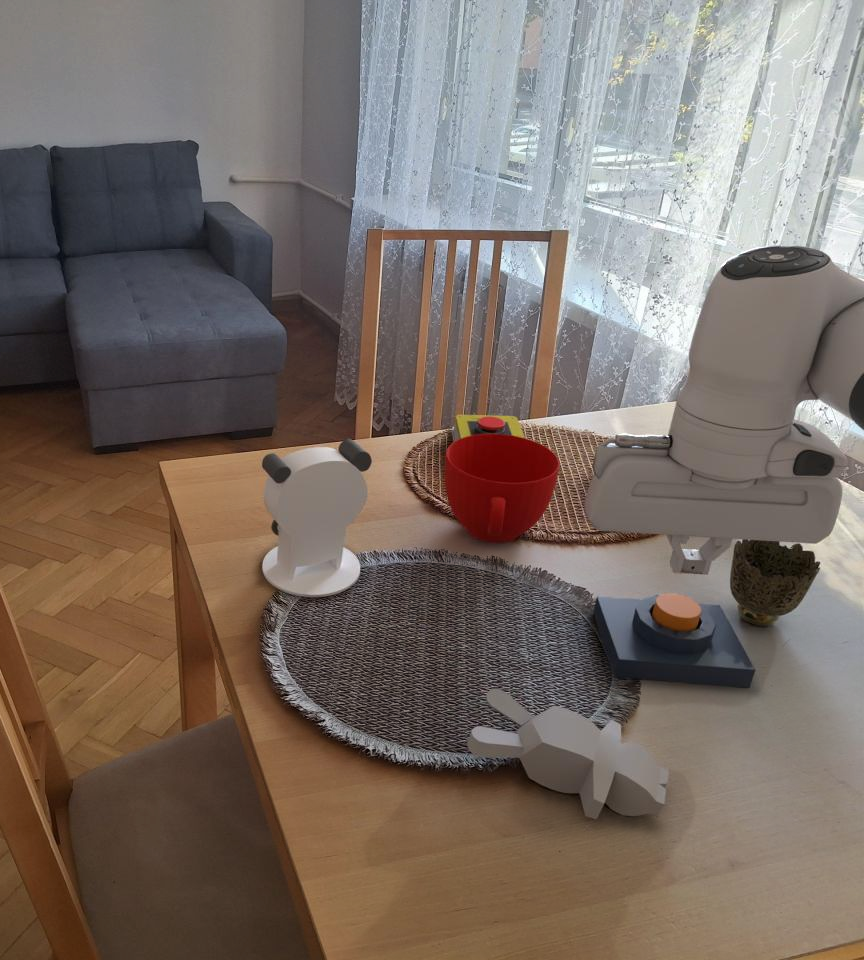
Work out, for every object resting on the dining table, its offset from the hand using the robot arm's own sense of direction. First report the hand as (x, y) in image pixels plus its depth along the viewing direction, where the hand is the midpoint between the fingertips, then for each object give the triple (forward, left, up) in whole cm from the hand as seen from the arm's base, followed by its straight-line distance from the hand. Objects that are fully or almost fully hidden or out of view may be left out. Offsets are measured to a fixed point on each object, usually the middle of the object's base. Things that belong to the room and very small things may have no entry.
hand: (687, 570), depth 81 cm
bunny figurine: (+13, +18, -10) cm, 24 cm away
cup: (-11, -6, -10) cm, 16 cm away
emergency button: (+13, -42, -10) cm, 45 cm away
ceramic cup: (+15, -19, -10) cm, 26 cm away
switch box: (0, 0, -10) cm, 10 cm away
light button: (0, 0, -6) cm, 6 cm away
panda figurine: (+36, -10, -10) cm, 39 cm away
